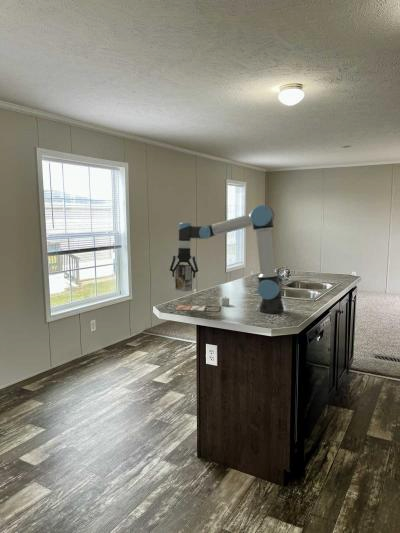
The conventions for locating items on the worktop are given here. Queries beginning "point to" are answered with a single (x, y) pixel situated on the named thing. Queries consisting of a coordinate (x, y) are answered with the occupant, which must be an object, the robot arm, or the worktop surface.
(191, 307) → the board
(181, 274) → the coffee box
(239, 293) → the worktop surface
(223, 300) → the die
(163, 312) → the worktop surface
